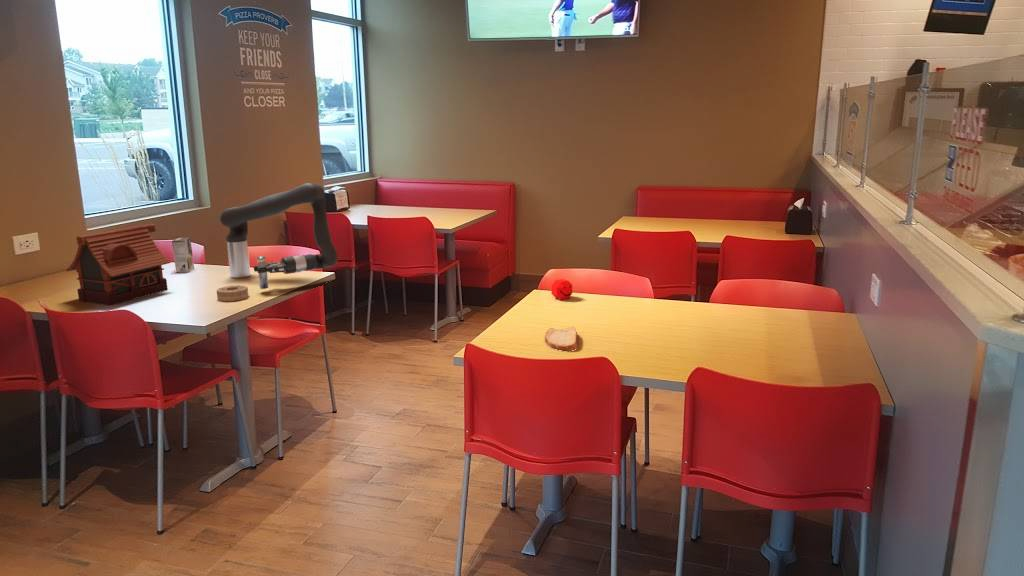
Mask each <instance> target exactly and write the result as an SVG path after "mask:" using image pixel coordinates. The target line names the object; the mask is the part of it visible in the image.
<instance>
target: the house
mask: <svg viewBox="0 0 1024 576" xmlns="http://www.w3.org/2000/svg"><path fill="white" fill-rule="evenodd" d="M155 227H156V225H155V224H154V223H145V224H140V225H139V224H138V225H134V226H129V227H125V228H120V229H114V230H109V231H103V232H96V233H92V234H91V233H90V234H85V235H80V236H76V244H77V246H78V248H77V251H76V254H75V257H74V258H73V259H74V260H73V261H72V263H71V264H70V265H69V267H67V269H65V271H66V272H72V271H75V272H76V273H77V276H78V277H77V278H76V280H77V281H79V288H77V296H78V301H79V302H82V303H93V304H99V305H104V306H113V305H117V304H121V303H124V302H128V301H132V300H135V299H134V298H136V299H139V298H143V297H146V296H145V295H147V296H149V295H148V294H150V295H153V294H152V293H154V294H157V293H156V292H158V293H161V292H164V291H163V290H165V291H167V290H168V289H169V288H168V281H167V278H165V277H164V274H163V271H164V270H165V268H163V267H162V266H164V265H168V264H171V262H172V261H170V260H169V259H168V258H167V256H165V255H164V253H162V251H161V250H160V249H159V247H158V245H157V244H156V243H155V241H154V240H153V237H152V236H151V233H155V232H156V228H155ZM160 291H161V292H160ZM142 296H143V297H142ZM138 297H139V298H138Z"/></svg>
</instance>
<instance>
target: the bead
mask: <svg viewBox="0 0 1024 576" xmlns="http://www.w3.org/2000/svg"><path fill="white" fill-rule="evenodd" d="M216 297H217V300H218V299H219V301H220V300H222V301H221V302H236V301H235V300H237V301H242V300H245V299H248V297H249V288H248V286H246V285H240V284H239V285H238V284H234V285H226V286H221V287H219V288H217V289H216Z"/></svg>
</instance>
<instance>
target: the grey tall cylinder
mask: <svg viewBox="0 0 1024 576" xmlns="http://www.w3.org/2000/svg"><path fill="white" fill-rule="evenodd" d="M266 258H267V257H266V255H258V256H256V264H257V266H258V268H262V267H266V263H267V259H266ZM257 273H258V272H257ZM257 276H258V283H259V289H260V290H265V289H269V280H268V279H269V278H268V273H267V272H264V273H258V275H257Z"/></svg>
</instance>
